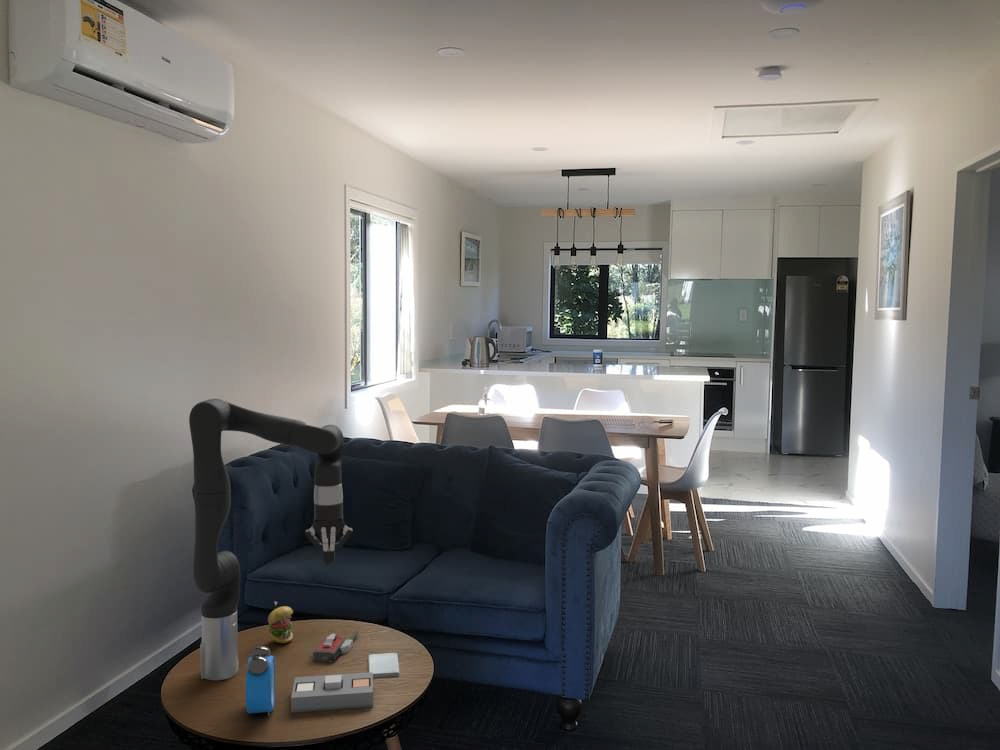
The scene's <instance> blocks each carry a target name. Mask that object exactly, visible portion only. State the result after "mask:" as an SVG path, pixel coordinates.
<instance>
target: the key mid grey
mask: <svg viewBox="0 0 1000 750" xmlns="http://www.w3.org/2000/svg"><path fill="white" fill-rule="evenodd" d="M330 675H331V676H326V677H325V690H326V689H340V688H341V687H342V680H341V675H337V674H330Z"/></svg>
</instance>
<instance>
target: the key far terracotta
mask: <svg viewBox="0 0 1000 750" xmlns="http://www.w3.org/2000/svg"><path fill="white" fill-rule="evenodd" d="M354 687H369V679H360V680H353V688H354Z"/></svg>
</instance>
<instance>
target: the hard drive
mask: <svg viewBox="0 0 1000 750" xmlns="http://www.w3.org/2000/svg"><path fill="white" fill-rule="evenodd" d="M398 656H399V655H398V653H397V652H389V653H376V654H375V653H373V654H368V672H373V679H374V678H385V677H400V668H399V667H400V666H399V659H398Z"/></svg>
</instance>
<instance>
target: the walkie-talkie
mask: <svg viewBox="0 0 1000 750" xmlns="http://www.w3.org/2000/svg"><path fill="white" fill-rule="evenodd" d="M358 634H359V631H358V630H355V631H354V633H353V634H352V636H351V637H350V638H349V639H347V638H346V637H344V636H339V634H338V633H330V634H328V635H327V636H324V638H323V639H322V640H321V641H320V642H319V644H318V645H317V647H316V648H315V649H314V650H313V651H312V660H313V661H314V662H324V661H325V662H326V661H334V662H336V660H337V659H338V657H339V656H340V655H344V654H346V653H348V652H349V651H350V650H351V649H352V648H353V646H354V640H355V638H356V637H357V635H358ZM345 652H346V653H345ZM343 653H344V654H343ZM339 654H340V655H339ZM336 658H337V659H336ZM325 662H324V663H325ZM326 663H327V662H326Z"/></svg>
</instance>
